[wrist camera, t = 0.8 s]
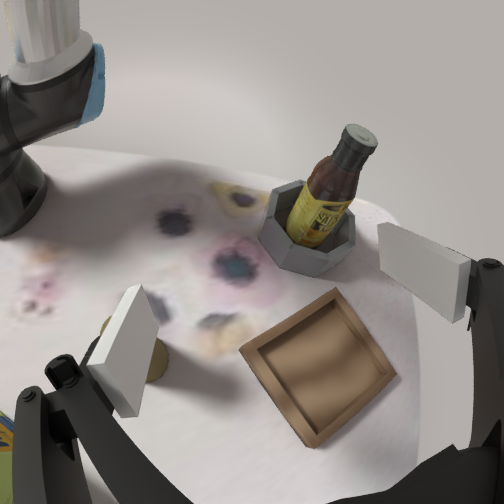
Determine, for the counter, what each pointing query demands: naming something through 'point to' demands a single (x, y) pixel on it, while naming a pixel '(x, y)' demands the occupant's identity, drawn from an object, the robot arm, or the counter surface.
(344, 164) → the sauce bottle
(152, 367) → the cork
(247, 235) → the counter surface
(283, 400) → the tray
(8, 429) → the protein box
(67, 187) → the counter surface
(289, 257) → the holder cup
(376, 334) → the counter surface
